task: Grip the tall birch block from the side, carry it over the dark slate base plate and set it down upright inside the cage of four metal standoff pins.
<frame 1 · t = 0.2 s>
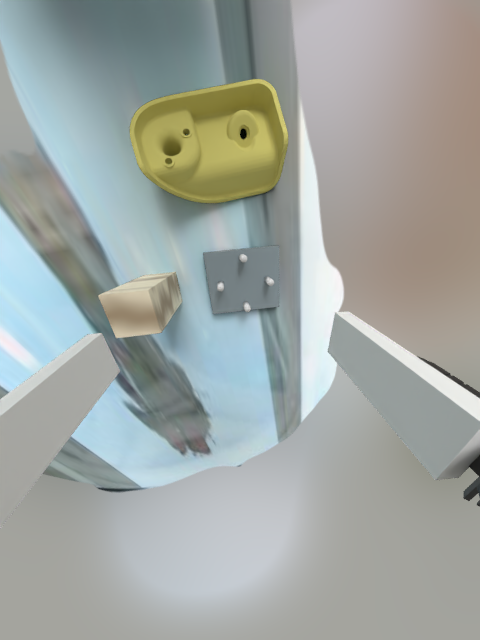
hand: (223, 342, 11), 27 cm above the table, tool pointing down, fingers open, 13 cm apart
plastic component: (214, 155, 29), on the table
birch block: (164, 288, 36), on the table
pin plate: (243, 280, 37), on the table
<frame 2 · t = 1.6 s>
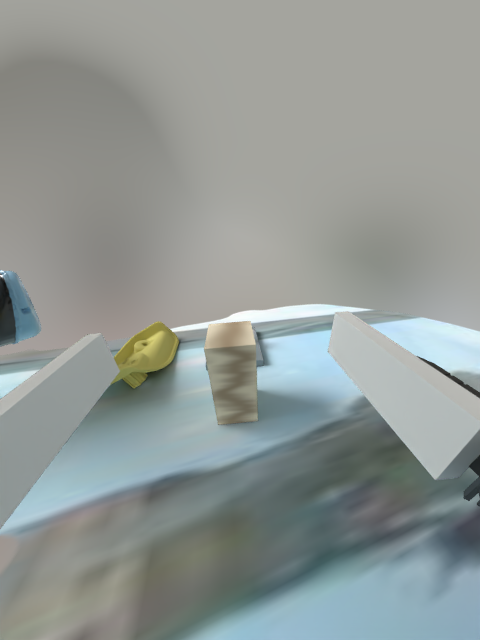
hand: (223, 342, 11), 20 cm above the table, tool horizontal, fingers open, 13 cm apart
plastic component: (145, 365, 41), on the table
birch block: (237, 405, 30), on the table
pin plate: (234, 348, 44), on the table
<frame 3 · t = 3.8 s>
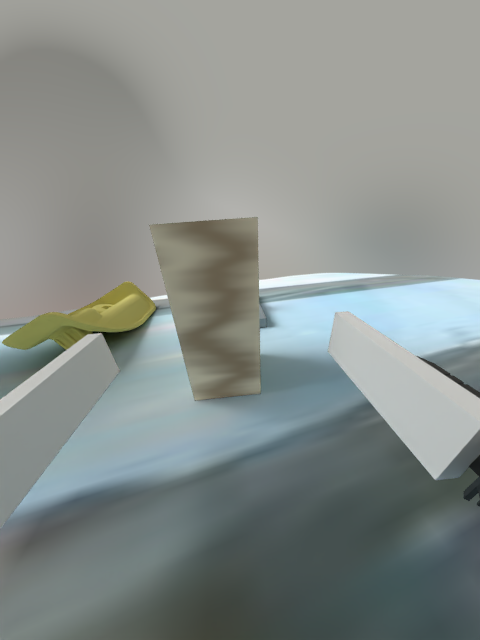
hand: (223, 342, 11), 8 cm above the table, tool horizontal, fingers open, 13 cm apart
plastic component: (104, 333, 30), on the table
birch block: (227, 373, 19), on the table
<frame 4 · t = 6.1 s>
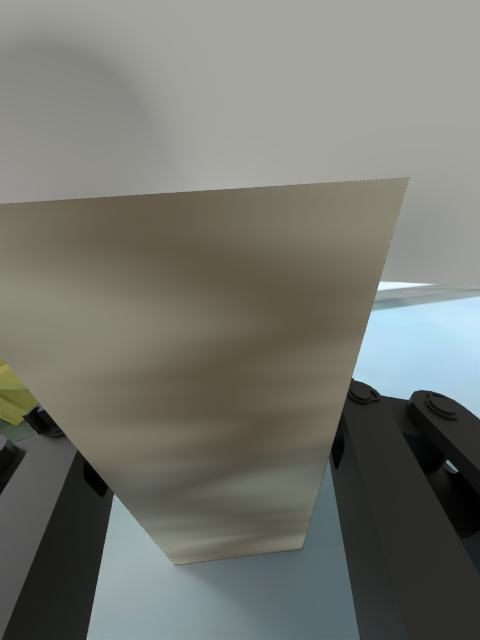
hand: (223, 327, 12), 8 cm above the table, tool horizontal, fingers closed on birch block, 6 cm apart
plastic component: (70, 372, 22), on the table
birch block: (235, 477, 11), on the table, touching gripper
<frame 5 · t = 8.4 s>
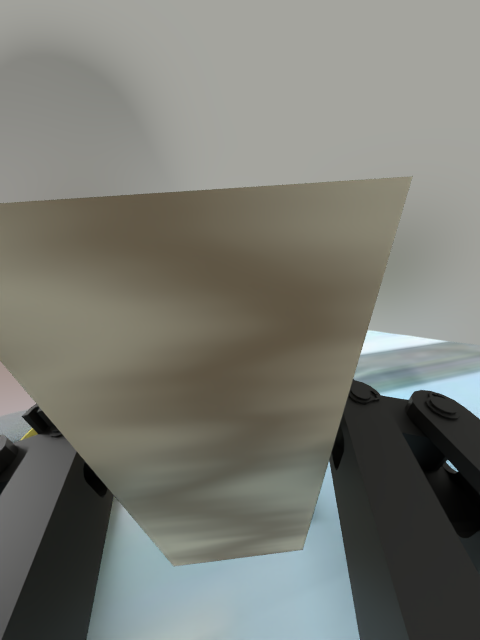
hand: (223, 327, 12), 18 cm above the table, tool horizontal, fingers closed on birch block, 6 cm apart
birch block: (235, 478, 11), point 10 cm above the table, touching gripper
when the fingers open (11 cm above the table, at t = 11.0 s): birch block drops 1 cm, resting on pin plate.
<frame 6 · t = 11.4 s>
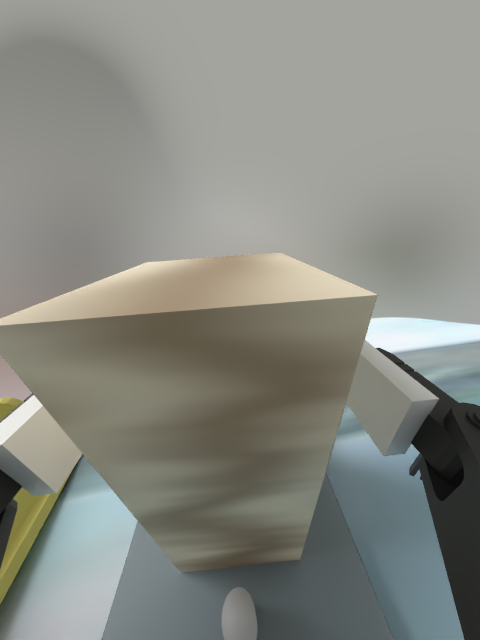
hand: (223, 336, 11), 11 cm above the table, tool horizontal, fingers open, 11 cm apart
birch block: (238, 488, 12), point 1 cm above the table, touching pin plate
pin plate: (239, 498, 12), on the table
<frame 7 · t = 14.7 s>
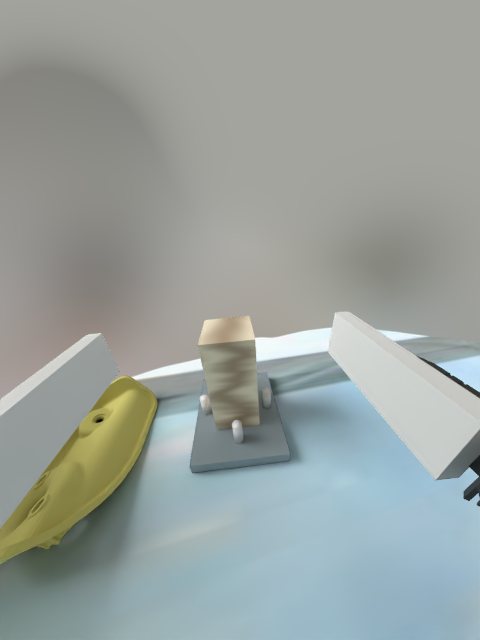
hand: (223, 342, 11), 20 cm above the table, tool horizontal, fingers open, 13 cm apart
plastic component: (93, 464, 24), on the table
birch block: (237, 408, 27), point 1 cm above the table, touching pin plate
pin plate: (238, 414, 28), on the table
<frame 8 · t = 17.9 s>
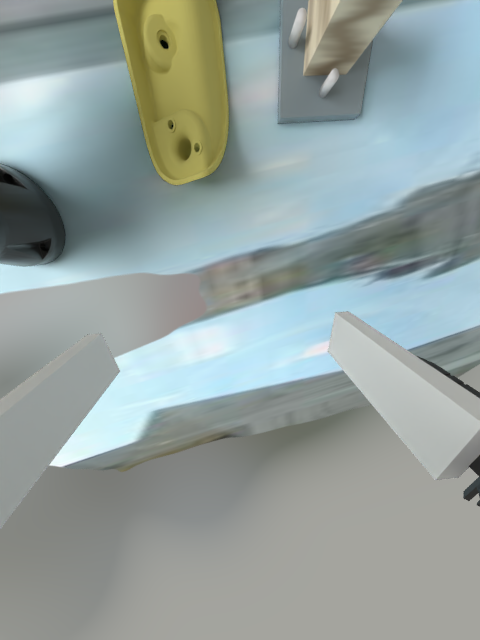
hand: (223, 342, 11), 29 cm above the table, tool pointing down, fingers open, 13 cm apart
plastic component: (183, 109, 26), on the table
birch block: (328, 40, 23), point 1 cm above the table, touching pin plate
pin plate: (322, 50, 25), on the table
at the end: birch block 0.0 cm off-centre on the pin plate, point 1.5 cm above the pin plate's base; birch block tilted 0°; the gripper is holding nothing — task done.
